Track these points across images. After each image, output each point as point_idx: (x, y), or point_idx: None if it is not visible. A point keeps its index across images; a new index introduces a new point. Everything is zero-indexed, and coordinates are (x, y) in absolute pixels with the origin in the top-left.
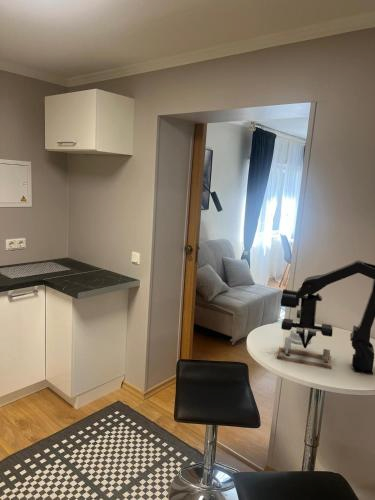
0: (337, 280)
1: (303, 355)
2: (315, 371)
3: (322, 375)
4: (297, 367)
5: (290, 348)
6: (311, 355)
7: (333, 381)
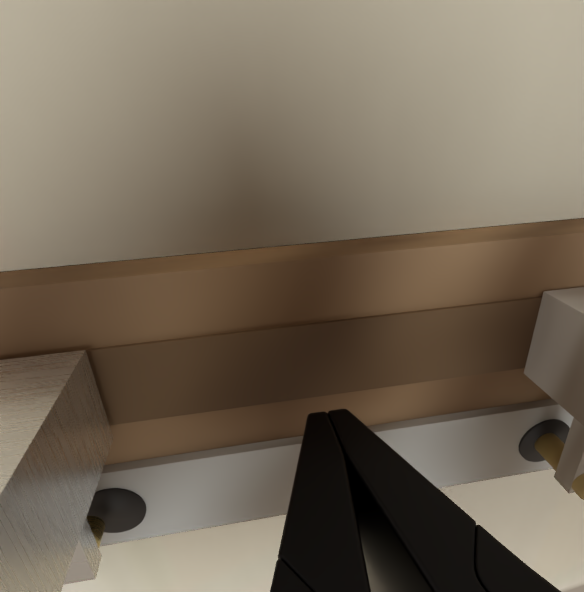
0: None
1: (297, 399)
2: None
3: None
4: (262, 551)
5: (94, 492)
6: (398, 350)
7: None
